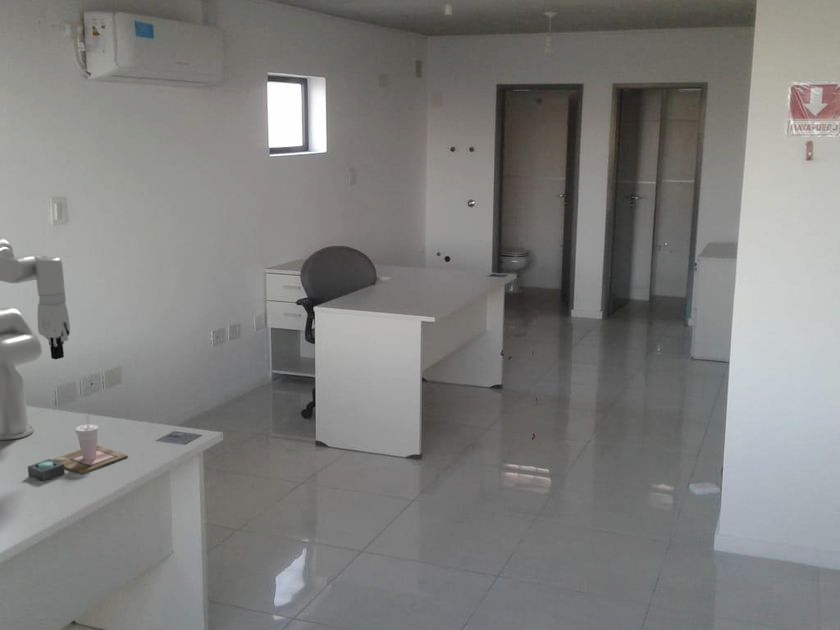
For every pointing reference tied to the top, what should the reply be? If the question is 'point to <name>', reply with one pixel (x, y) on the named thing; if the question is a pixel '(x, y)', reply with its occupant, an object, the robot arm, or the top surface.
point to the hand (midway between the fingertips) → (57, 357)
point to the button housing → (46, 471)
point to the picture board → (82, 466)
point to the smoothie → (88, 440)
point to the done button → (45, 465)
